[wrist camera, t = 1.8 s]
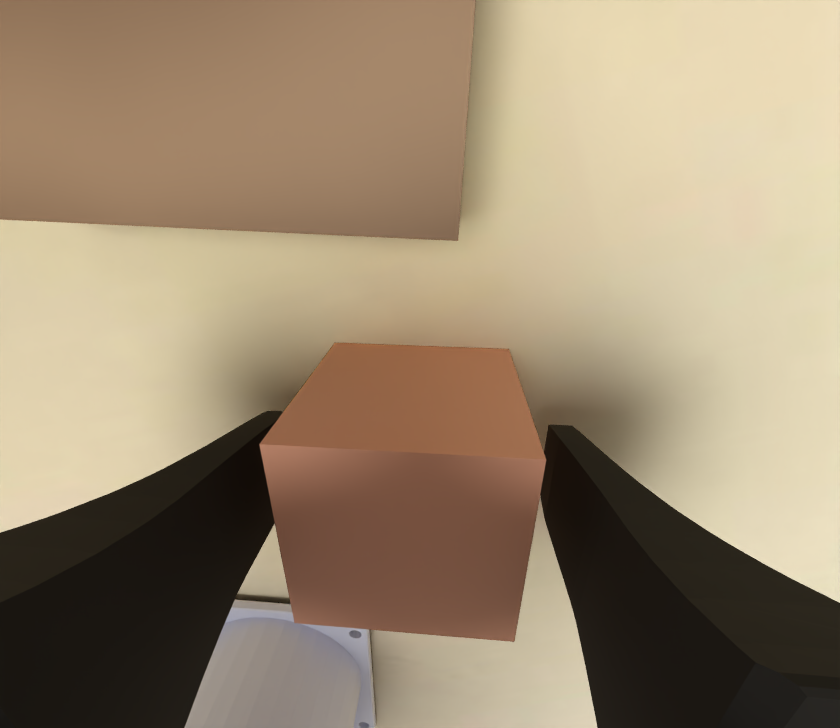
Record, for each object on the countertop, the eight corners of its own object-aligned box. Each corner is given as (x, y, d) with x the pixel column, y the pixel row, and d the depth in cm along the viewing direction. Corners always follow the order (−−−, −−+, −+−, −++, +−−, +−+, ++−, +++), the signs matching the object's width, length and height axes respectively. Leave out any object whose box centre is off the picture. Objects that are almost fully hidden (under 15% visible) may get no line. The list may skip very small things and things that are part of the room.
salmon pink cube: (493, 485, 13) (514, 641, 9) (347, 476, 14) (294, 623, 9) (508, 348, 11) (545, 459, 7) (335, 341, 12) (259, 443, 7)
